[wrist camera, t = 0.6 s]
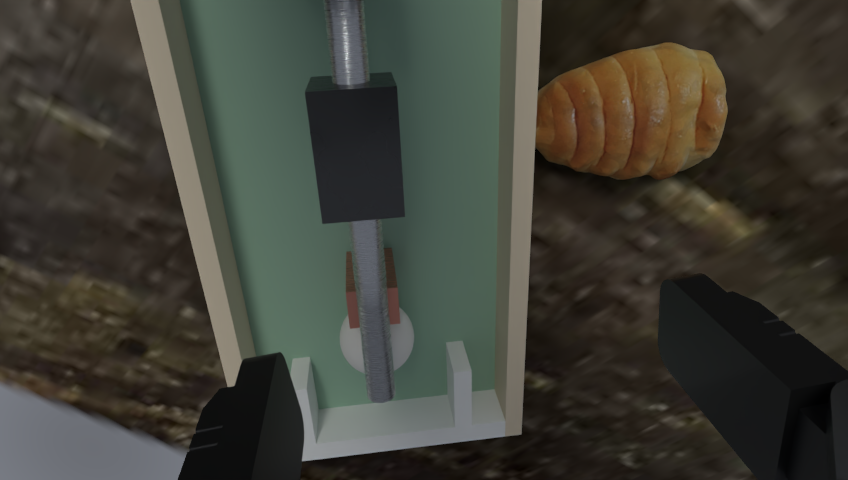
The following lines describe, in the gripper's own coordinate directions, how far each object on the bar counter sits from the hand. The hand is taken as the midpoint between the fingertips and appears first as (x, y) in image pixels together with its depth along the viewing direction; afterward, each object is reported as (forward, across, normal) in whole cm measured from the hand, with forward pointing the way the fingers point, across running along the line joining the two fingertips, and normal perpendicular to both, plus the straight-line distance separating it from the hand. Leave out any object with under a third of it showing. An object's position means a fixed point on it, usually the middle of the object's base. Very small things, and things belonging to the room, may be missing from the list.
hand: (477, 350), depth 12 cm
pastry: (+19, -12, +1) cm, 22 cm away
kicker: (+17, +2, -1) cm, 17 cm away
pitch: (+19, +3, +4) cm, 19 cm away
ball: (+15, +3, +10) cm, 19 cm away
